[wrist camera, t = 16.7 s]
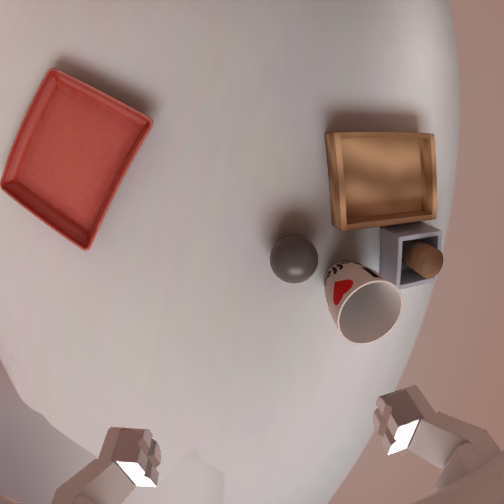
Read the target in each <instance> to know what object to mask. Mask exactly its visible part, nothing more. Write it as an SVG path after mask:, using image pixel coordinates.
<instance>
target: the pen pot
mask: <svg viewBox="0 0 504 504" xmlns="http://www.w3.org/2000/svg"><path fill="white" fill-rule="evenodd" d="M441 235H442V231H441V230H439V229H437V228H435V227H432V226H430V225H428V224H426V223H423V222H416V223H408V224H400V225H393V226H385V227H380V273H379V274H380V275H381V276H383V277H384V278H386V279H387V280H388V281H390V282H391V283H393V284H394V285H395V286H396V287H397V288H398V289H399V290H400V289H404V288H409V287H413V286H417V285H421V284H425V283H430V282H434V281H437V278H438V274H437V275H436V276H434V277H433V278H429V279H427V278H424V277H423V276H421V275H420V274H419V273H417V272H416V271H414V270H413V269H412V268H410V267H409V266H407V265H406V264H405V263H403V262H402V241H407V240H413V239H420V240H422V241H423V242H425V243H427V244H429V245H431V246H433V247H435V248H436V249H438V250H440V249H441Z"/></svg>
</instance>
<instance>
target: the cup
mask: <svg viewBox="0 0 504 504" xmlns="http://www.w3.org/2000/svg"><path fill="white" fill-rule="evenodd" d="M325 296H326V300H327V303H328V307H329V310H330V313H331V315H332V317H333V319H334V322H335V324H336V326H337V328H338V330H339V332H340V334H341V336H342V337H343V338H344V339H345V340H346V341H348V342H350V343H353V344H358V345H364V344H369V343H372V342H375V341H377V340H379V339H381V338H382V337H384V336H385V335H386V334H388V333H389V332H390V331H391V330H392V328H393V327H394V326H395V325H396V323H397V321H398V319H399V317H400V315H401V312H402V307H403V300H402V295H401V293H400V291H399V289H398V288H397V287H396V286H395V285H394V284H393V283H391V282H390V281H388V280H387V279H386V278H384V277H383V276H381V275H380V274H379V273H377V272H376V271H374V270H372V269H370V268H368V267H365V266H363V265H361V264H359V263H354V262H347V261H341V262H338V263H336V264H334V265H333V266H331V267H330V268H329V270H328V271H327V273H326V275H325Z"/></svg>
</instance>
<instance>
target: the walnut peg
mask: <svg viewBox="0 0 504 504" xmlns="http://www.w3.org/2000/svg"><path fill="white" fill-rule="evenodd" d="M402 262H403V263H405V264H406V265H407V266H409V267H410V268H412V269H413V270H414V271H416V272H417V273H419V274H420V275H421V276H423V277H424V278H427V279H429V278H433V277H434V276H436V275H437V274H438V273H439V271H440V270H441V268H442V264H443V255H442V253H441V251H440V250H438V249H436V248H435V247H433V246H431V245H429V244H427V243H425V242H423V241H422V240H420V239H413V240H407V241H402Z"/></svg>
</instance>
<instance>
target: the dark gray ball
mask: <svg viewBox="0 0 504 504" xmlns="http://www.w3.org/2000/svg"><path fill="white" fill-rule="evenodd" d="M270 263H271V267H272V270H273V272H274V273H275V274H276V275H277V277H279V278H280V279H281V280H283V281H285V282H288V283H300V282H303V281H305V280H307V279H308V278H310V277H311V276H312V275H313V273H314V272H315V270H316V268H317V265H318V253H317V250H316V248H315V246H314V245H313V243H312V242H311V241H310V240H308V239H307V238H305V237H303V236H300V235H288V236H285V237H283V238H281V239H280V240H279V241H277V243H276V244H275V245H274V246H273V248H272V251H271V254H270Z"/></svg>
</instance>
